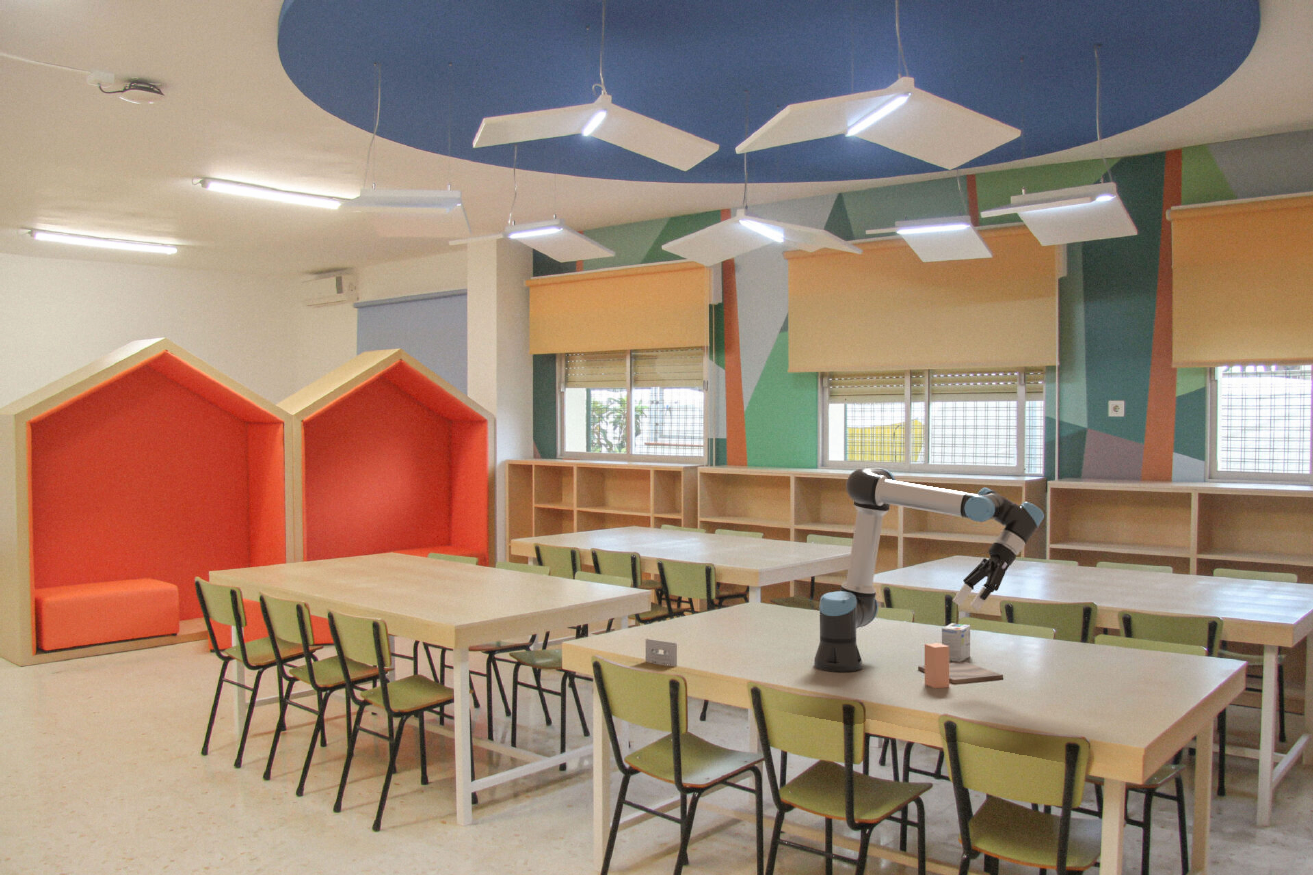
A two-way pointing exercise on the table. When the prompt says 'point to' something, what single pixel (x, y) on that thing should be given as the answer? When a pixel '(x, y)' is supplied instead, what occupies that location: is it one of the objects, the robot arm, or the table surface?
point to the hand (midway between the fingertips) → (964, 605)
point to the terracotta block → (937, 665)
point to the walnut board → (968, 673)
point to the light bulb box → (957, 641)
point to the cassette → (661, 658)
